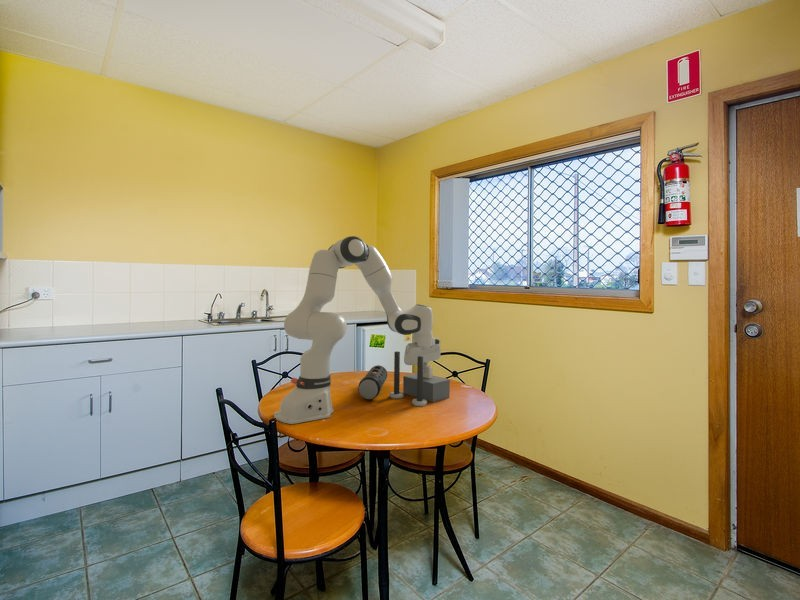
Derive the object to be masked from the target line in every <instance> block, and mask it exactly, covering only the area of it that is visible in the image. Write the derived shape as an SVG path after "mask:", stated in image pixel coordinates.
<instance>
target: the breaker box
mask: <svg viewBox="0 0 800 600" xmlns="http://www.w3.org/2000/svg"><path fill="white" fill-rule="evenodd" d="M402 383H403V385H402V388H403V389H402V393H403V395H404V394H405V395H407V396H410V397H414V398H417V372H416V373H412V374H407V375H406V374H405V375H403V382H402ZM450 383H451V379H448V378H444V377H441V376H436V375H433V374H432V378H430V379H429V378H425V377H423V399H425V400H427V402H431V403H435V402H438V401H439V402H440V401H442V400H445V399H449V398H450V388H451V387H450V385H451V384H450Z"/></svg>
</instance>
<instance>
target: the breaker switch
mask: <svg viewBox="0 0 800 600" xmlns="http://www.w3.org/2000/svg"><path fill="white" fill-rule="evenodd" d="M432 375H433V366H431V365H427V367H426V372H423V377H425V378H429V379H430V378H432Z"/></svg>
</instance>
